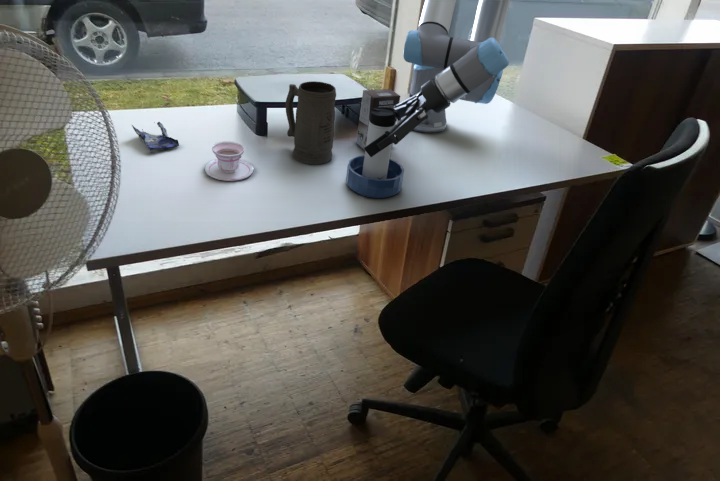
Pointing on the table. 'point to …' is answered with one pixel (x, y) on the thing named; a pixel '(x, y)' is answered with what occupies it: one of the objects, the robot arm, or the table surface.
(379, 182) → the bowl
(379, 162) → the travel mug
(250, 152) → the table surface
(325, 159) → the beer stein
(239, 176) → the teacup
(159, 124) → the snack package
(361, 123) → the cookie box
